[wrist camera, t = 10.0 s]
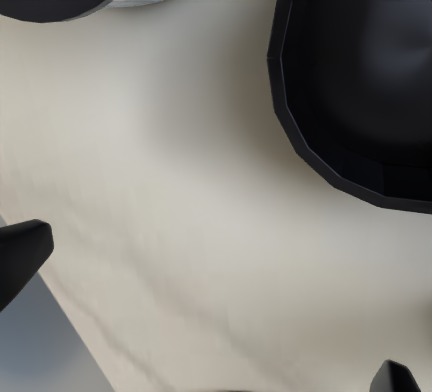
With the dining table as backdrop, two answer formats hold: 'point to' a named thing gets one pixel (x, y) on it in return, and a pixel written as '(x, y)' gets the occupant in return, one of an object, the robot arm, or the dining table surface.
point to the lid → (50, 9)
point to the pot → (130, 3)
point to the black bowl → (358, 94)
